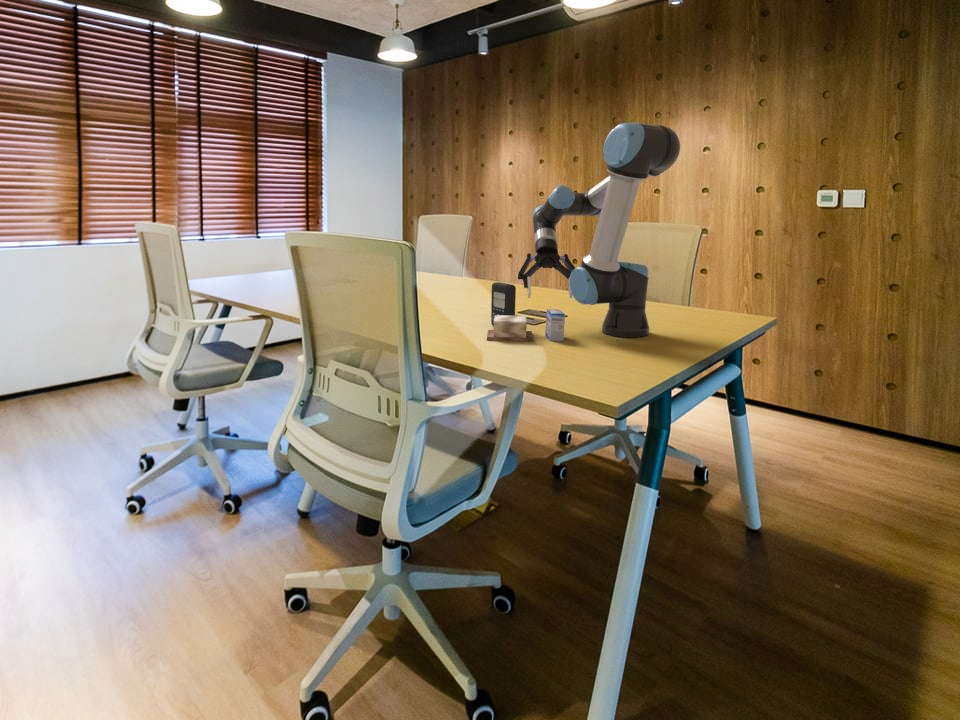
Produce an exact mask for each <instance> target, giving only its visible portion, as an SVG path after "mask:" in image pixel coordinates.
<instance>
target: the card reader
mask: <svg viewBox="0 0 960 720" xmlns="http://www.w3.org/2000/svg"><path fill="white" fill-rule="evenodd" d="M516 291H517V287H516V286H515V285H514V284H511V283H506V282H500V281H499V282H493V283H492V284H491V301H490V302H491V304H490V305H491V312H490V315H491V316H490V318H491V319H490V321H491V322H490V323H491V326H492V327H494V317H495V315H508V316H516V295H517V294H516V293H517V292H516Z"/></svg>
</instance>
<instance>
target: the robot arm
mask: <svg viewBox="0 0 960 720" xmlns="http://www.w3.org/2000/svg"><path fill="white" fill-rule="evenodd" d="M602 148H603V149H602V153H603V160H604V163H606V164H607V167H606V171H607V173H608V174H609V175H608V176H607V177H606V178H604V179H603V180H601V181H600V182H599V183H597V184H596V185H595V186H593V187H591V188H590V189H589V190H588V191H586V192H574V190H573V189H572V188H570V187H569V186H566V185H564V184H561V185H558V186H556V187H555V188H554V189H553V191H552V192H551V193H550V194H549V196H548V198H547V199H546V201H545V203H544V204H541V205H539V206H537V207H536V208H534V210H533V212H532V225H533V234H534V250H535V255H532V254H531V253H530V252H528V253H527V254H526V259H525V261H524V262H523V265H521V267H520V269H519V271H518V275H517V279H518V280H519V281H521V280H522V281H523V288H524V289H526V291H527V293H526V294H527V298H531V295H532V294H531V293H532V290H531V277H532V276H533V275H534V274H535V273H536V272H537V271H538V270H540V269H541V268H542V269H553V268H554V270H555V271H558V272H559V273H560V274H561V275H562V276H564V277H565V278H566V279H567V288H568V297H569V299H573V298H574V300H575V301H576V302H578V303H579V304H581V305H590V306H592V305H593V306H594V305H601V304H608V310H607V313H606V314H605V316H604V319H603V322H602V324H601V332H602V334H605V335H608V336H613V337H618V336H619V337H620V338H641V337H640V336H644V337H647V336H649V335H648V334H650V325H649V321H648V317H647V313H646V302H647V297H648V295H647V293H648V283H649V278H650V277H649V268H648V266H647V265H645V264H639V263H634V262H633V263H632V262H627V261H626V262H624V261H618V258H619V255H620V252H621V249H622V245H623V241H624V238H625V234H626V231H627V228H628V224H629V221H630V217H631V214H632V211H633V208H634V204H635V201H636V197H637V194H638V191H639V187H640V184H641V183H642V182H645V181H646V180H647V179H648V178H650V177H658V176H660V175H661V174H663V173H665V172H666V171H667V170H668V169H670V168H671V167H672V166H673V165H674V164H675V163H676V162H677V159H678V158H679V156H680V151H681V142H680V138H679V135H677V133H676V132H675V130H673V129H672V128H670V127H669V126H666V125H657V124H648V123H639V122H634V121H633V122H622V123H619V124H618V125H616V126H615V127H614V128H612V129H611V130H610V131H609V133H608V134H607V136H606V139H605V141H604V143H603V147H602ZM565 216H572V217H573V216H574V217H575V216H578V217H579V216H583V217H586V216H587V217H588V216H589V217H595V216H599V217H598V220H597V225H596V228H595V231H594V236H593V240H592V242H591V247H590V251H589V254H586V255H585V256H583V258H582V261H581V264H580V266H577V267H575V265H574V264H573V262H572V261H571V260H570V258H569V255H568V254H567V253H564V255H559V251H558V249H559V248H558V240H557V225H558V224H559V222H560V221H561V220H562V219H563V217H565ZM533 261H534V262H535V263H534V264H533V265H532V266H531V267H530V264H531V263H532V262H533ZM563 263H564V265H563ZM528 267H530V268H529V269H528ZM527 269H528V270H527ZM646 335H647V336H646Z"/></svg>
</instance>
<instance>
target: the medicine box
mask: <svg viewBox="0 0 960 720" xmlns="http://www.w3.org/2000/svg"><path fill="white" fill-rule="evenodd" d="M545 312H546V314H545V315H546V316H545V329H544V331H545V334H544V335H545V337H546V338H547V339H548V340H549V341H550V342H563V341H564V339H565V337H564V336H565V324H566V322H565V320H566V314H565V313H564V312H563V311H561V309H557V308H556V309H553V308H551V309H548V308H547V309H546V311H545Z"/></svg>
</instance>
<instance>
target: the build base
mask: <svg viewBox="0 0 960 720" xmlns="http://www.w3.org/2000/svg"><path fill="white" fill-rule="evenodd" d="M527 327H528V325H527V316H526V315H515V316H508V315H495V317H494V326H493V329H488V330H487V333H486V341H491V340H507V341H506V342H530V341H532V342H531V343H533V341H534V340H533V339H534V338H533V334H532V333H533V331H531V330H527Z"/></svg>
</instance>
